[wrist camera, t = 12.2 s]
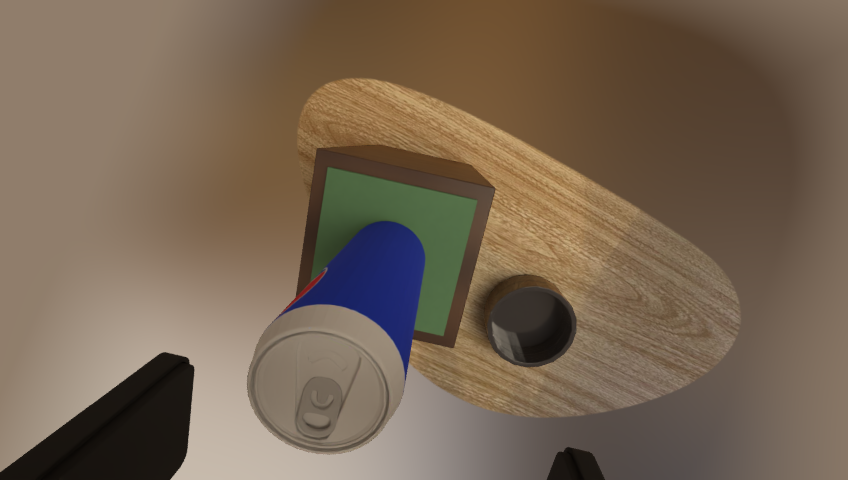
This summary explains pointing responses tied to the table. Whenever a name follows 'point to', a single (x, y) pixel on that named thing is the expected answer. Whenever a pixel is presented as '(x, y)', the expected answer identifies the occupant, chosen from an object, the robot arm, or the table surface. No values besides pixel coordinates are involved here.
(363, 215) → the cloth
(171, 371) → the robot arm
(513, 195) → the table surface
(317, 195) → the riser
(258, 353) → the beverage can
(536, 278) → the bowl
